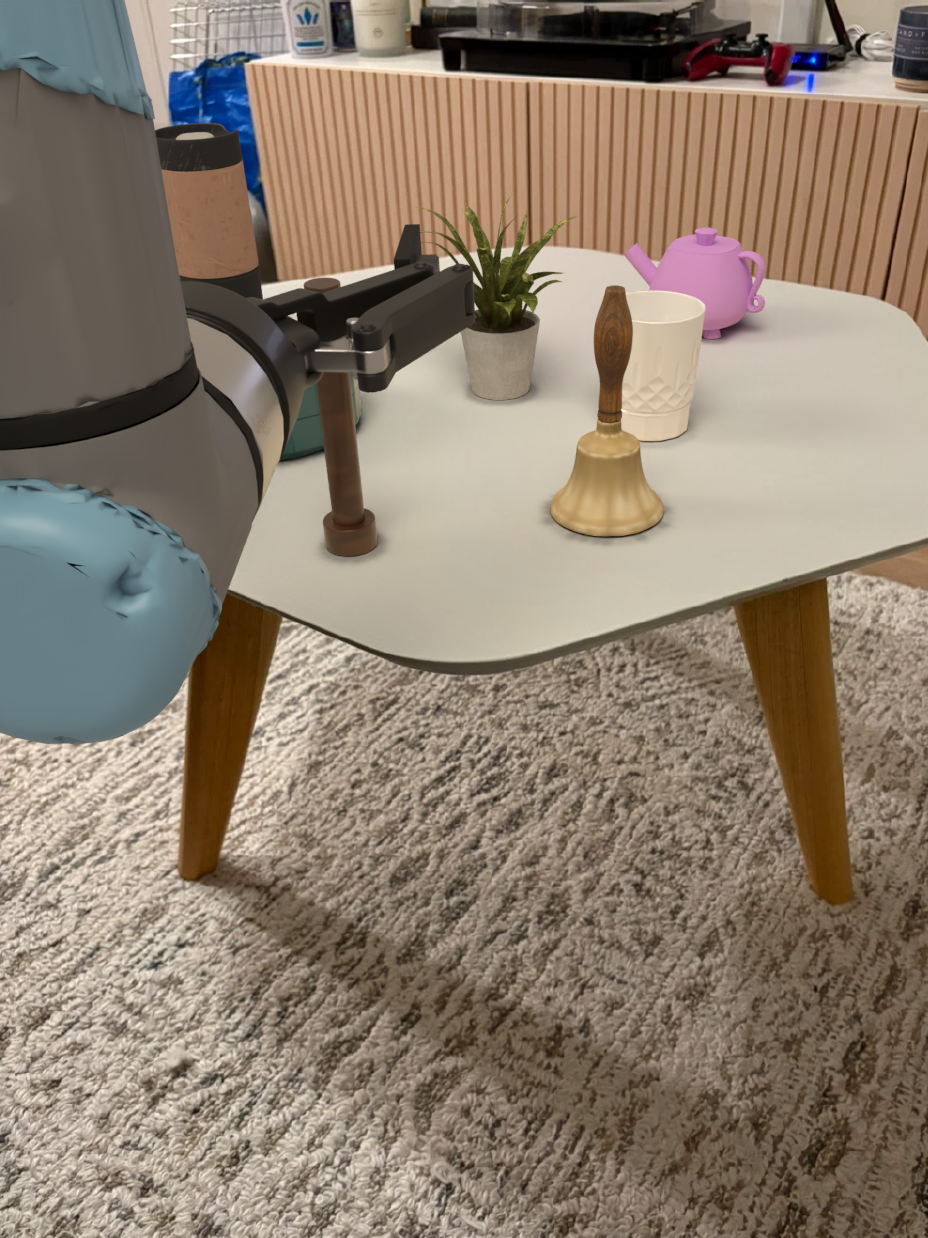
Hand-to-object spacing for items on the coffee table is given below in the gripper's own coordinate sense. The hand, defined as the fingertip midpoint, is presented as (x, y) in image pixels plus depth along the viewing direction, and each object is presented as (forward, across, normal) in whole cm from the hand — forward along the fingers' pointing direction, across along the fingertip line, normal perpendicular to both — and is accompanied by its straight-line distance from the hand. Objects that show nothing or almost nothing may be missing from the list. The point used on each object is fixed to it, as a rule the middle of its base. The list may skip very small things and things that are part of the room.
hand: (283, 254), depth 57 cm
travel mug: (+46, -16, -21) cm, 53 cm away
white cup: (+28, +23, -22) cm, 42 cm away
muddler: (+9, 0, -22) cm, 24 cm away
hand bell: (+14, +18, -22) cm, 32 cm away
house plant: (+37, +9, -22) cm, 44 cm away
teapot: (+53, +29, -22) cm, 65 cm away
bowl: (+29, -9, -21) cm, 38 cm away
